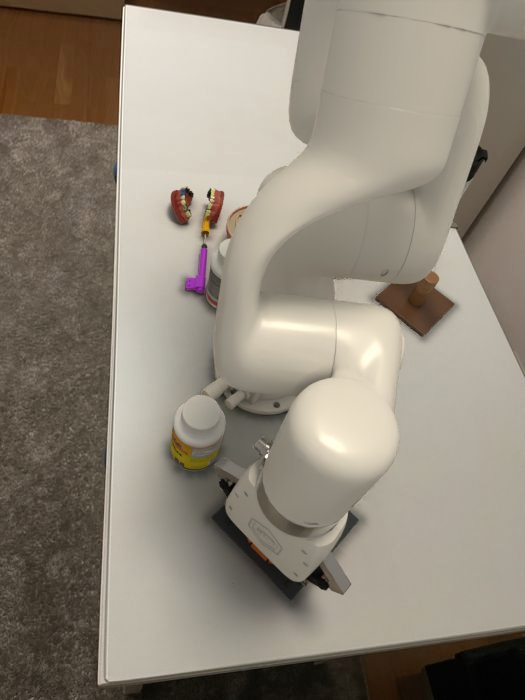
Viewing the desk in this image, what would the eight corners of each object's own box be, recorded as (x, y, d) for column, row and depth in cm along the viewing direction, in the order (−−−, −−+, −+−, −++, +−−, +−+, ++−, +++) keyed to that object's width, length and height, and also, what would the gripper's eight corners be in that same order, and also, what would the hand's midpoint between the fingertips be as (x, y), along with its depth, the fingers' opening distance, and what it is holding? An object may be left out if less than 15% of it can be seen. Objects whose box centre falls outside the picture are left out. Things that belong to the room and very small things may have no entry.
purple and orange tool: (205, 294, 77) (211, 215, 86) (204, 289, 76) (210, 209, 85) (186, 295, 77) (194, 216, 86) (184, 290, 76) (193, 210, 85)
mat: (291, 601, 58) (291, 600, 57) (211, 517, 61) (211, 517, 61) (358, 520, 64) (359, 519, 63) (282, 448, 67) (282, 447, 67)
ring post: (422, 337, 81) (440, 312, 76) (374, 298, 83) (389, 272, 78) (453, 306, 85) (472, 280, 80) (407, 270, 88) (422, 244, 83)
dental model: (222, 201, 81) (168, 202, 81) (224, 224, 84) (172, 224, 84) (224, 178, 84) (172, 178, 84) (226, 201, 87) (176, 201, 88)
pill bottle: (230, 318, 76) (240, 272, 68) (198, 299, 77) (204, 250, 69) (250, 295, 79) (263, 247, 71) (219, 276, 80) (228, 227, 72)
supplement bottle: (167, 431, 65) (171, 389, 57) (214, 426, 67) (224, 385, 58) (172, 476, 63) (177, 439, 54) (221, 470, 64) (232, 433, 56)
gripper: (195, 442, 45) (182, 510, 59) (359, 605, 40) (302, 637, 55) (258, 390, 49) (231, 465, 63) (414, 533, 44) (347, 580, 58)
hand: (264, 544), depth 59 cm, fingers closed on ring, 8 cm apart
